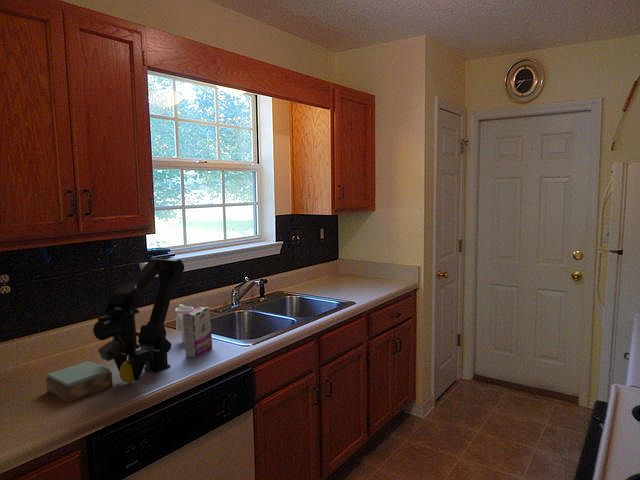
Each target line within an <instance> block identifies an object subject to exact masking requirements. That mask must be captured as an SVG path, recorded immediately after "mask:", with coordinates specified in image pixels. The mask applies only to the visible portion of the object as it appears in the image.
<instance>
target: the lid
mask: <svg viewBox="0 0 640 480" xmlns="http://www.w3.org/2000/svg"><path fill="white" fill-rule="evenodd" d="M110 372H111V369H110V368H107V367H105V366H102V365H100V364H97V363H95V362H93V361H90V360H87V361H84V362H80V363H79V364H75V365H72V366H71V365H70V366H68V367H65V368H62V369H59V370H56V371H52V372H49V373H47V375H46V376H47V378H50V379H52V380H54V381H56V382H58V383H60V384H63V385H65V386H67V387H70V386H73V385H76V384H79V383H82V382H85V381H87V380H90V379H93V378H96V377H99V376H102V375H105V374H107V373H110Z"/></svg>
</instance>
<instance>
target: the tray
mask: <svg viewBox="0 0 640 480" xmlns="http://www.w3.org/2000/svg"><path fill="white" fill-rule="evenodd" d="M112 373H113V372H112V371H110V373H107V374H105V375H102V376H99V377H96V378H93V379H90V380H87V381H85V382H82V383H79V384H76V385H73V386H70V387H67V386H65V385H63V384H60V383H58V382H56V381H54V380H52V379H50V378H48V377H46V378H45V384H46V392H47V393H48V394H50V395H52V396H54V397H56V398H58V399H59V400H61V401H63V402H65V403H67V404H69V403H71V402H74V401H77V400H79V399H82V398H85V397H87V396H89V395H93V394H96V393H98V392H101V391H103V390H106V389H108V388H112V387H114V385H113V384H114V383H113V374H112Z"/></svg>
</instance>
